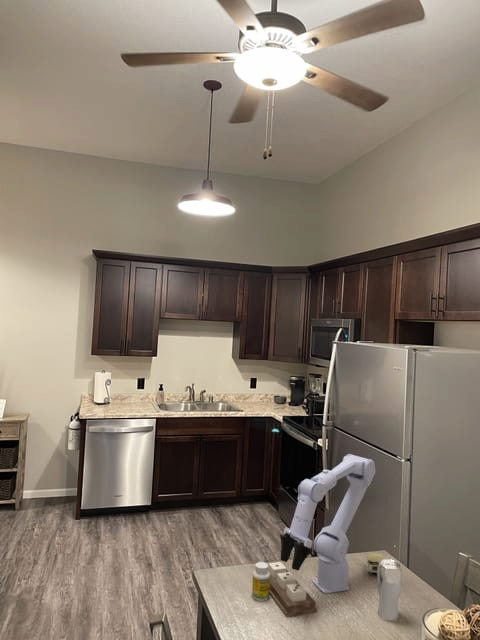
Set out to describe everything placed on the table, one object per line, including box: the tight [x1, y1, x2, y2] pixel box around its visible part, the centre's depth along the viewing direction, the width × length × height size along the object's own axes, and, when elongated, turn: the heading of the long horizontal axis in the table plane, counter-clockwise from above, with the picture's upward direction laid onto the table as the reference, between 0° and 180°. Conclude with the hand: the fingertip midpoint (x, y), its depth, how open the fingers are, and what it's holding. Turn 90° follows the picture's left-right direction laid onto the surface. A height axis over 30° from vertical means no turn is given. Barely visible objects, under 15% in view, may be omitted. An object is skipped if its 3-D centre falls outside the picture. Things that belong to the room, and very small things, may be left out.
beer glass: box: [376, 558, 403, 622], centre depth 138 cm, size 7×7×15 cm
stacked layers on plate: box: [366, 552, 385, 576], centre depth 164 cm, size 10×9×6 cm
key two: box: [277, 571, 297, 590], centre depth 147 cm, size 4×4×3 cm
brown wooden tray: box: [269, 568, 318, 618], centre depth 147 cm, size 10×22×3 cm, turn 20°
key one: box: [267, 561, 287, 579], centre depth 153 cm, size 4×4×3 cm
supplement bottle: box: [251, 561, 270, 601], centre depth 145 cm, size 5×5×10 cm
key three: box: [286, 582, 307, 602], centre depth 140 cm, size 4×4×3 cm
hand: (289, 565), depth 141 cm, fingers open, 7 cm apart
